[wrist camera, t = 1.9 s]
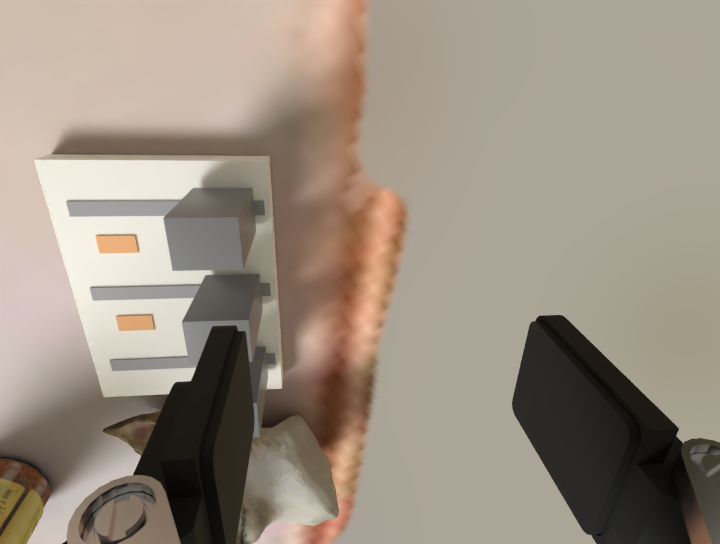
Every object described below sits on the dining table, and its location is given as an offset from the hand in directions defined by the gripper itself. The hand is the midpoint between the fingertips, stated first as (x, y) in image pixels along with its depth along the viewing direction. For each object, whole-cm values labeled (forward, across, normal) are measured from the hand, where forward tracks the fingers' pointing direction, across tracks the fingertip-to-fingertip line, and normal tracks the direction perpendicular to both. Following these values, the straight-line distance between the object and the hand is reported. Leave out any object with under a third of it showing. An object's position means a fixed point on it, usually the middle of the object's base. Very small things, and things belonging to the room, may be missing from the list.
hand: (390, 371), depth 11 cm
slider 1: (+14, +6, 0) cm, 16 cm away
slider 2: (+14, +6, +5) cm, 16 cm away
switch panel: (+16, +10, +5) cm, 19 cm away
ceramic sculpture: (+16, +8, +19) cm, 26 cm away
